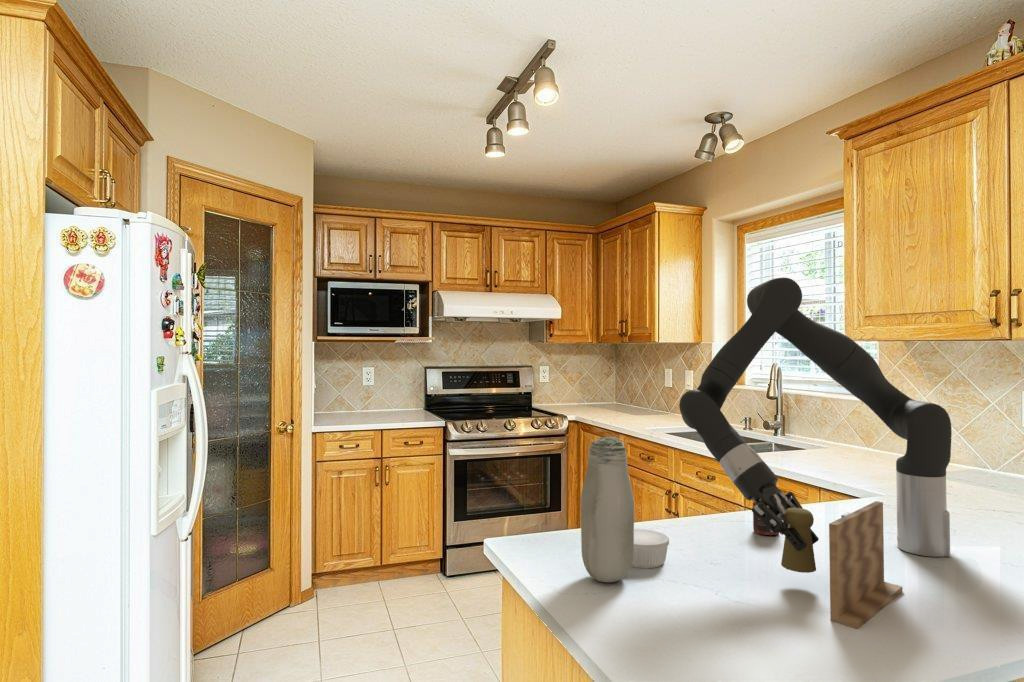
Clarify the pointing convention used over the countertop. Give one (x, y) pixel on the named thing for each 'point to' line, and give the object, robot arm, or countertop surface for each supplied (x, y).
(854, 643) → the countertop surface
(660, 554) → the ramekin
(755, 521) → the supplement bottle
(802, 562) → the olive pawn figure
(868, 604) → the shelf wall
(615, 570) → the grey bottle
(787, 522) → the robot arm
